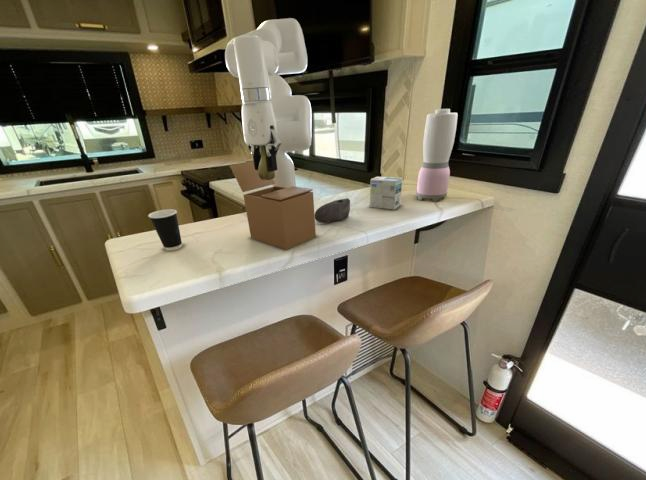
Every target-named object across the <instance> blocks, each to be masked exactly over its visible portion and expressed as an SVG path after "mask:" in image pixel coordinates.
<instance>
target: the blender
mask: <svg viewBox="0 0 646 480" xmlns="http://www.w3.org/2000/svg"><path fill="white" fill-rule="evenodd" d="M458 116H459V115H458V112H451V109H450V108H440V109H439V108H438V109H435V111H434V113H428V114H427V115H426V120H425V125H424V132H423V141H422V153H423V155H422V156H423V162H422V165H421V167H420V169H419V171H418V175H417V176H418V177H417V188H416V193H415V194H416V196H417V199H418V200H419V201H422V200H423V199H432V201H433V202H439V200H440V199H441V198H445V197H447V195H448V187H449V182H450V177H451V176H450V175H451V169H450V166H449V161H450V157H451V154H452V151H453V147H454V144H455V138H456V132H457V125H458Z"/></svg>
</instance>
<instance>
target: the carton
mask: <svg viewBox="0 0 646 480" xmlns="http://www.w3.org/2000/svg"><path fill="white" fill-rule="evenodd" d="M313 191H314V190H313V188H308V187H301V186H296V187H295V186H292V187H288V188H285V187H279V186H273V187H271V186H270V187H269V186H268V187H267V188H262V189H258V190H255V191H251V192H247V193H244V194H243V195H242V196H243V201H244V206H245V212H246V218H247V222H248V229H249V234H250V238H251V239H253V240H256V241H258V242H261V243H265V244H268V245H271V246H273V247H277V248H280V249H282V250H286V251H287V250H290V249H292V248H294V247H296V246H298V245H300V244H303V243H305V242H307V241H310V240H311V239H314V238H316V236H317V233H316V231H317V230H316V219H315V203H314V202H315V201H314V192H313Z"/></svg>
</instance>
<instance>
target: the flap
mask: <svg viewBox="0 0 646 480" xmlns="http://www.w3.org/2000/svg"><path fill="white" fill-rule="evenodd" d="M229 167H230V169H231V171H232V174H233V175H234V177H235V179H236V182H237V184H238V186H239V188H240V190H241V192H242V193H246V192H249V191H253V190H256V189H260V188H265V187H269V186H271V185H273V184H275V182H274V180H273V179H271V180H262V179H261V178H260V177H259V175H258V170H255V167H254V161H253V160H249V161H244V162H240V163H235V164H230V165H229Z"/></svg>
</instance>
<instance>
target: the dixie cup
mask: <svg viewBox="0 0 646 480" xmlns="http://www.w3.org/2000/svg"><path fill="white" fill-rule="evenodd" d="M177 213H178V211H177V210H176V209H171V208H168V209H160V210H156V211H153V212H150V213H149V214H148V215H147V217H148V218H149V219H150V221H151V223H152V225H153V228H154V229H155V231H156V233H157V236H158V237H159V240H160V243H161V244H162V246H163V248H164V249H165V250H166V251H176V250H179V249H181V248H182V246H183V245H182V243H183V242H182V237H181V233H180V232H181V231H180V225H179V220H178V214H177Z"/></svg>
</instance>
